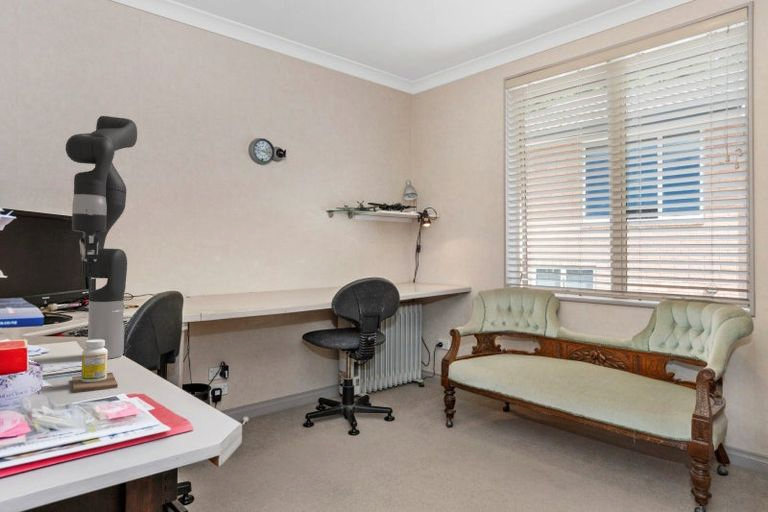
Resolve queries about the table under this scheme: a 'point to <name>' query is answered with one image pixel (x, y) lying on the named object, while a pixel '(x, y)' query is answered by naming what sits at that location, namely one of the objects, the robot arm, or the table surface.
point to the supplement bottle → (94, 361)
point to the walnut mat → (93, 384)
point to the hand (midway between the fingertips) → (88, 275)
